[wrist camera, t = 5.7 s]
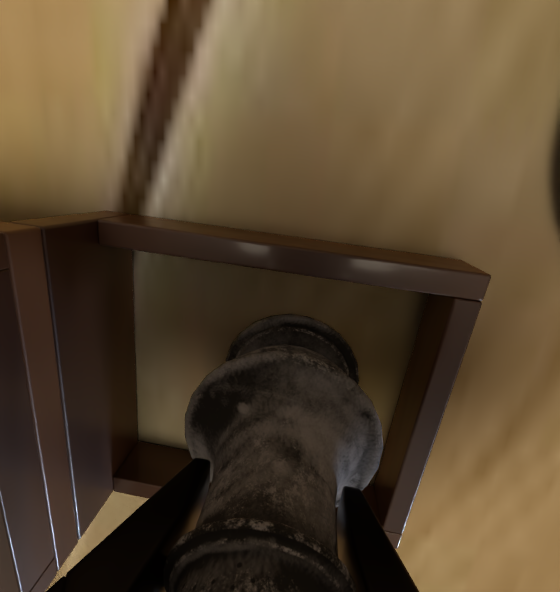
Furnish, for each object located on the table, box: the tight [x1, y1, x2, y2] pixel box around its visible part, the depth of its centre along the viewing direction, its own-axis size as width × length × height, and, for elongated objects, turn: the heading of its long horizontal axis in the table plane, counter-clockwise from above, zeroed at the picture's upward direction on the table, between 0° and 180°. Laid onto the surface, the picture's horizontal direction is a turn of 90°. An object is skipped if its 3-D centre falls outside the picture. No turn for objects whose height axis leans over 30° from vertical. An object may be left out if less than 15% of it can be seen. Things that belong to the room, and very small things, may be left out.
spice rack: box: [0, 211, 491, 592], centre depth 11 cm, size 23×11×6 cm, turn 84°
